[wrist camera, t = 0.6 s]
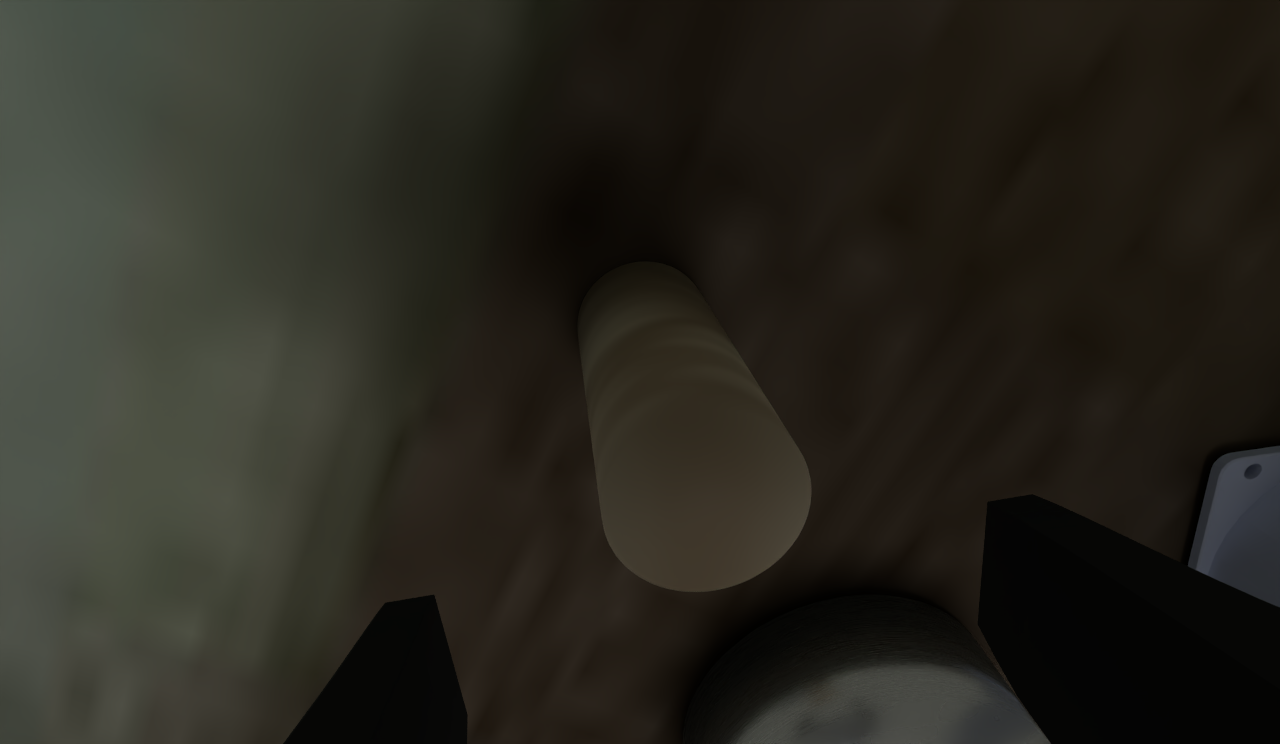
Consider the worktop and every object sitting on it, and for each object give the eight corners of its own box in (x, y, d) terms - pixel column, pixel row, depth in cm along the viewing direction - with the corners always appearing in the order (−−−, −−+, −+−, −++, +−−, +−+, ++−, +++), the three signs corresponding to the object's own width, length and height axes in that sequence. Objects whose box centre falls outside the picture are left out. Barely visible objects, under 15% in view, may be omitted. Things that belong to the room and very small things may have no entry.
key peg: (703, 254, 19) (811, 395, 11) (710, 376, 20) (811, 575, 13) (569, 269, 18) (590, 426, 11) (585, 392, 20) (613, 606, 12)
